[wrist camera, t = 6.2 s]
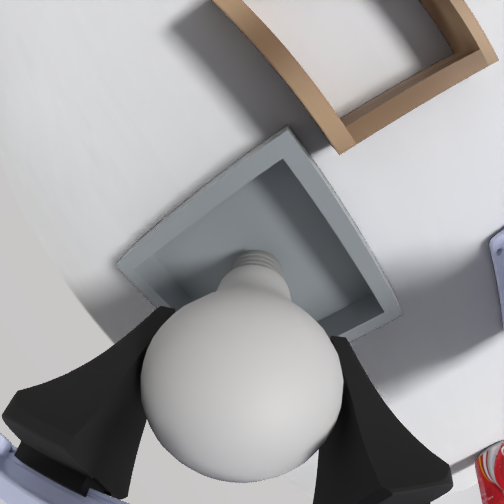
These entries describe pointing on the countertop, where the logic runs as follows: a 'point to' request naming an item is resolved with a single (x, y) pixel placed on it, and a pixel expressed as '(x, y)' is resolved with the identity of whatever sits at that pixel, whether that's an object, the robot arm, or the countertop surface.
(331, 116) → the holder collar
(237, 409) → the lightbulb
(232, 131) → the countertop surface
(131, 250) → the parts tray
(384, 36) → the countertop surface
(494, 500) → the soda can
